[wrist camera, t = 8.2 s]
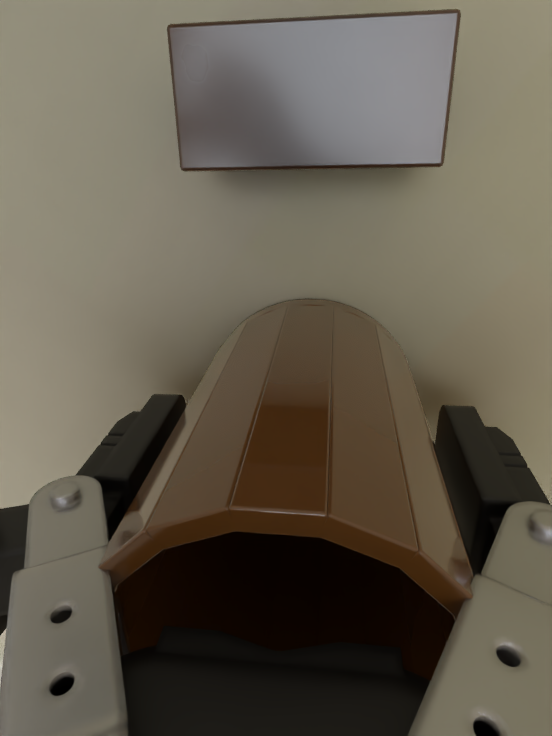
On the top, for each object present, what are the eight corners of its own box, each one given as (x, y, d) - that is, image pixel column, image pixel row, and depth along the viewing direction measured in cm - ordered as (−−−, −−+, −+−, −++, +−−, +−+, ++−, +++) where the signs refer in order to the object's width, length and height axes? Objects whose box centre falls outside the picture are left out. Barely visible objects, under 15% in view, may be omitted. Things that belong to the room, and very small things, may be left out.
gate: (244, 589, 19) (228, 666, 16) (207, 51, 11) (165, 23, 8) (377, 600, 18) (383, 682, 15) (430, 41, 11) (462, 7, 8)
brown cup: (219, 469, 16) (113, 763, 9) (205, 296, 14) (37, 494, 6) (402, 480, 16) (464, 809, 8) (423, 300, 13) (545, 529, 5)
